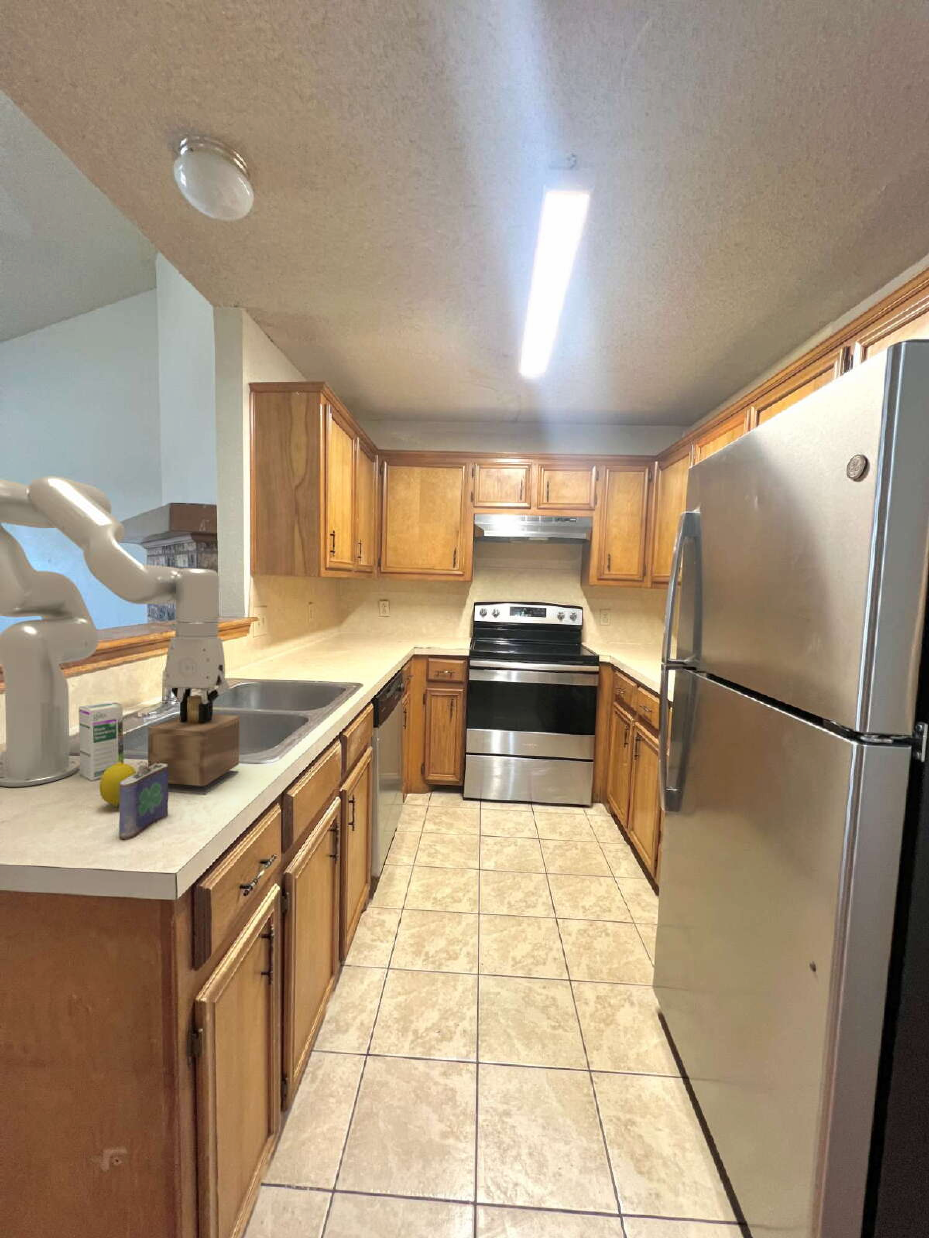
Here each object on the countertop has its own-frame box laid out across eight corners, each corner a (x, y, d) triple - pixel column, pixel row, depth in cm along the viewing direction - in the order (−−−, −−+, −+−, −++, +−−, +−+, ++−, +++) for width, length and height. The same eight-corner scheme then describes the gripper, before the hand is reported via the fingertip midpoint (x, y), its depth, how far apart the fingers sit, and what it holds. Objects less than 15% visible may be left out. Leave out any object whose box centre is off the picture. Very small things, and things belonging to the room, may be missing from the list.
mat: (151, 790, 92) (151, 788, 92) (189, 769, 103) (189, 767, 102) (205, 794, 91) (205, 792, 91) (238, 772, 101) (238, 771, 101)
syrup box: (91, 781, 95) (90, 709, 94) (79, 774, 98) (78, 705, 97) (124, 772, 99) (123, 704, 99) (111, 766, 102) (110, 700, 102)
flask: (129, 840, 74) (128, 773, 73) (112, 839, 74) (111, 771, 73) (172, 813, 83) (172, 753, 82) (157, 812, 83) (157, 752, 82)
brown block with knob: (147, 781, 91) (148, 701, 90) (188, 760, 103) (188, 689, 102) (204, 786, 90) (205, 705, 89) (238, 764, 102) (239, 692, 101)
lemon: (118, 815, 81) (117, 769, 81) (91, 811, 83) (91, 765, 82) (145, 801, 87) (145, 758, 86) (120, 797, 88) (120, 755, 87)
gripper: (144, 630, 92) (144, 723, 93) (225, 634, 90) (223, 729, 91) (172, 627, 99) (171, 713, 100) (246, 631, 98) (245, 719, 99)
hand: (196, 720), depth 96 cm, fingers closed on brown block with knob, 3 cm apart
